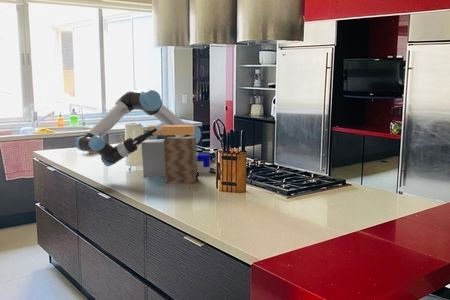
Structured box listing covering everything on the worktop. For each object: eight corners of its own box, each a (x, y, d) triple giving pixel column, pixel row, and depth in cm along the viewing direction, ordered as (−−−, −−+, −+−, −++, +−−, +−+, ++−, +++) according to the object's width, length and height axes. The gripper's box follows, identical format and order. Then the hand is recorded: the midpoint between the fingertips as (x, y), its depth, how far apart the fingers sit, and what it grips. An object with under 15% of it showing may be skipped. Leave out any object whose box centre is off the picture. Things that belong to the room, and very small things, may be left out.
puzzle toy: (209, 172, 270) (208, 155, 268) (191, 173, 270) (191, 155, 268) (210, 168, 280) (209, 151, 278) (193, 169, 280) (192, 152, 278)
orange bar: (148, 135, 249) (147, 126, 248) (150, 134, 252) (149, 125, 252) (193, 134, 245) (192, 126, 244) (194, 133, 249) (194, 125, 248)
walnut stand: (166, 182, 250) (163, 139, 245) (170, 178, 258) (168, 136, 254) (194, 183, 248) (192, 139, 243) (197, 178, 256) (195, 136, 252)
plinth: (143, 175, 267) (141, 142, 263) (148, 172, 275) (146, 139, 272) (171, 175, 264) (169, 142, 261) (175, 172, 273) (173, 139, 270)
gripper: (136, 150, 262) (170, 128, 257) (126, 156, 246) (162, 133, 240) (129, 138, 261) (163, 116, 256) (118, 144, 245) (154, 121, 240)
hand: (163, 125), depth 248 cm, fingers closed on orange bar, 4 cm apart
